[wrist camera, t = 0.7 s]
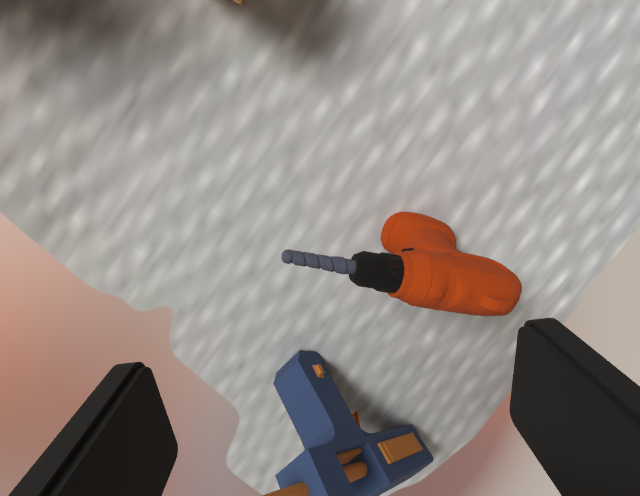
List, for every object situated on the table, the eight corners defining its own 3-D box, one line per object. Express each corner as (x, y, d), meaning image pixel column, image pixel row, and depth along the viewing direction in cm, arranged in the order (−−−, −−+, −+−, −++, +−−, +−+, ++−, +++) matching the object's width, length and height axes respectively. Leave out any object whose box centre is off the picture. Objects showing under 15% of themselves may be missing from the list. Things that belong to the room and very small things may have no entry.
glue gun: (363, 373, 55) (423, 470, 46) (189, 385, 32) (237, 579, 23) (389, 350, 53) (456, 445, 44) (222, 344, 31) (289, 538, 21)
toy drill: (281, 183, 32) (292, 236, 19) (452, 219, 37) (565, 284, 23) (271, 230, 34) (275, 311, 20) (437, 260, 38) (534, 343, 24)
